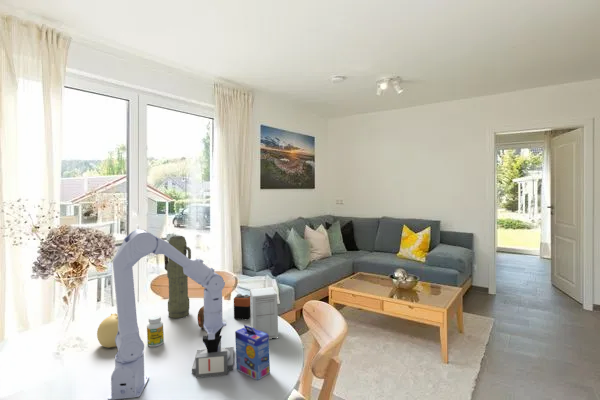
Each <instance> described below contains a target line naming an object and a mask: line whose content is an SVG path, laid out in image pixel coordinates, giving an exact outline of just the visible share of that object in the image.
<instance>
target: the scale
mask: <svg viewBox="0 0 600 400" xmlns="http://www.w3.org/2000/svg"><path fill="white" fill-rule="evenodd" d="M234 351H235V348H234V346H232V347H230V346H229V347H221V352H211V353H207V348H206V349H197V350H196V354H195V357H194V360H193V363H192V367H191V375H195V378H196V379H197V378H198V379H200V378H208V377H219V376H227V375H228V371H232V370H233V368H234V367H233V366H234V356H235V355H234Z"/></svg>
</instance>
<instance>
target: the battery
mask: <svg viewBox="0 0 600 400" xmlns="http://www.w3.org/2000/svg"><path fill="white" fill-rule="evenodd" d="M233 319H234V320H245V319H246V321H247V320H248V319H249V320H251V309H250V295H249V294H245V295H242V294H241V293H237V294H236V296H235V297H234V298H233Z"/></svg>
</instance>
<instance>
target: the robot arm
mask: <svg viewBox="0 0 600 400" xmlns="http://www.w3.org/2000/svg"><path fill="white" fill-rule="evenodd" d="M152 253H153V254H154V255H165V256H167V257H168V258H170V259H171V260H173V261H174V262H176V263H177V264H179V265H180V266H182V267H183V272H184V274H185V275H187V276H188V278H190V279H191V280H193V281H194V282H195V283H196V284H198V285H200V286H201V287H202V288H203V306H204V328H203V329H204V330H205V332H206V333H207V335H203V336H202V342H203V343H204V345H205V347H206V349H207V351H208V353H211V352H217V351H218V345H219V342H220V340H221V341H222V336H223V335H221V332H222V331H223V330H222V329H223V328H224V327H226V326H227V322H226V321H223V292H222V291H223V289H224V288H225V286H226V281H225V280H224V277H222V275H220V274H218V273H217V272H215V269H214V268H213V267H209V266H208V265H207V264H204V260H203V259H201V258H197V257H193V258H192V257H191V259H189V258H188V256H187V255H186V256H185V255H184V254H182V253H181V252H180V251H178V250H177V249H176V248H174V247H173V246H172V245H171V244H169V241H166V240H164V239H162V237H161V238H160V237H158V236H156V235H155V234H152V233H151V232H149V231H147V230H146V229H142V228H137V229H134V230H133V231H131V232H130V233H129V234H128V235H126V236H125V237H124V239H123V241H122V243H121V245H120V247H119V249H118V250H117V252H116V253H115V256H114V257H113V259H112V270H113V279H114V280H113V282H114V290H115V304H116V314H117V315H118V333H117V335H116V338H115V343H116V345H117V346H116V348H117V352H116V354H115V355H114V365H115V366H114V370H113V372H112V373H111V376H110V381H111V382H110V385H111V387H110V389H111V392H110V394H109V395H108V397H107V400H121V399H122V400H123V399H133V398H139V397H140V396H141V395H142V393H143V391H144V389H145V386H146V385H147V383H148V381H149V379H150V376H149V375H147V376H146V375H145V351H144V350H145V344H144V341H143V340H142V338H141V336H140V331H139V326H138V316H137V306H136V294H135V281H134V271H133V267H134V266H135V265H136V264H137V263H138V262H139V261H140V260H141V259H143V258H144V257H146V256H148V255H150V254H152Z"/></svg>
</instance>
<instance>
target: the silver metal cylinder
mask: <svg viewBox="0 0 600 400" xmlns="http://www.w3.org/2000/svg"><path fill="white" fill-rule="evenodd" d="M221 348H222V339H221V340H220V342H219V345H218V351H217V352H221ZM207 353H208V351H207Z"/></svg>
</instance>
